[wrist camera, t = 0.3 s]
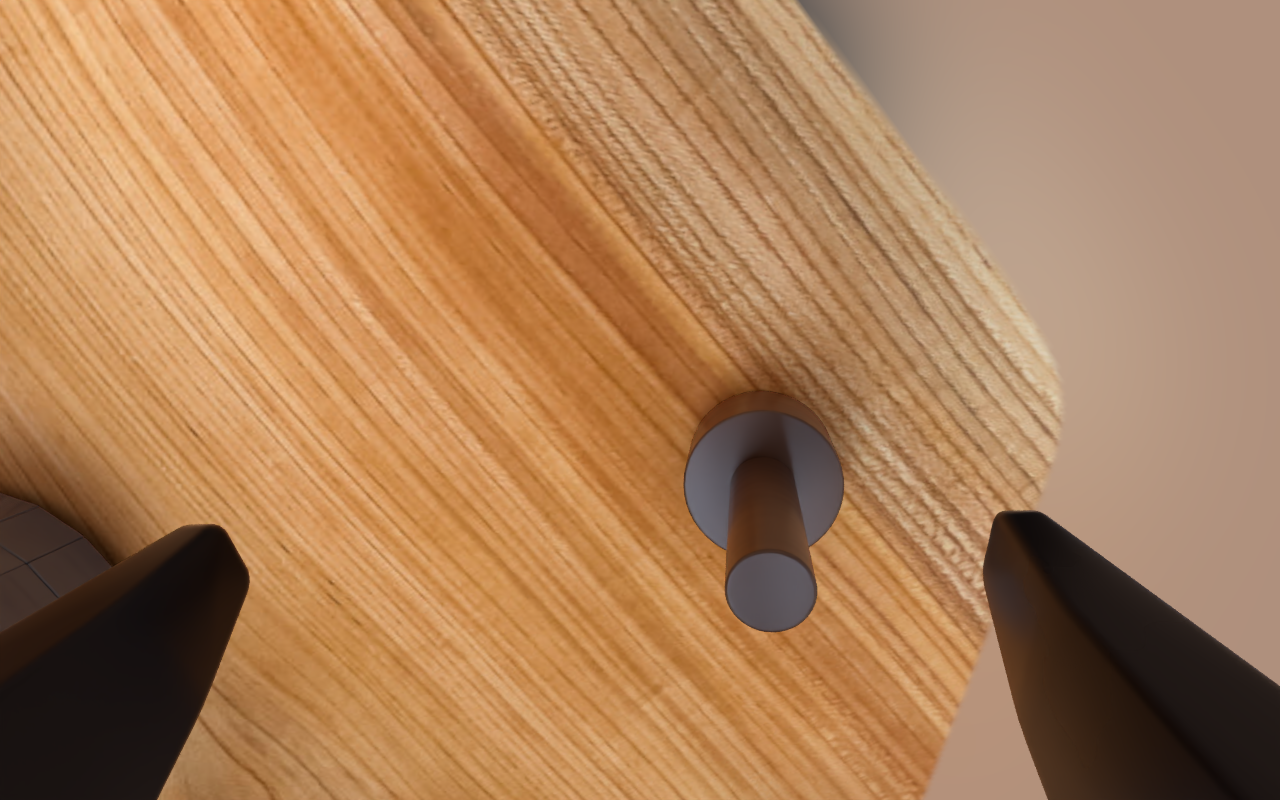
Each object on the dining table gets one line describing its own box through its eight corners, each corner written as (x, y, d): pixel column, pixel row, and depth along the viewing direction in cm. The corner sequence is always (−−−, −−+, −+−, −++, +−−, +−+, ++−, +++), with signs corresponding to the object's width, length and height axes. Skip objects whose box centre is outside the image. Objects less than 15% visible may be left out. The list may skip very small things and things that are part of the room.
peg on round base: (862, 474, 22) (934, 619, 14) (746, 551, 23) (747, 727, 15) (775, 362, 22) (796, 441, 13) (661, 445, 23) (615, 566, 14)
